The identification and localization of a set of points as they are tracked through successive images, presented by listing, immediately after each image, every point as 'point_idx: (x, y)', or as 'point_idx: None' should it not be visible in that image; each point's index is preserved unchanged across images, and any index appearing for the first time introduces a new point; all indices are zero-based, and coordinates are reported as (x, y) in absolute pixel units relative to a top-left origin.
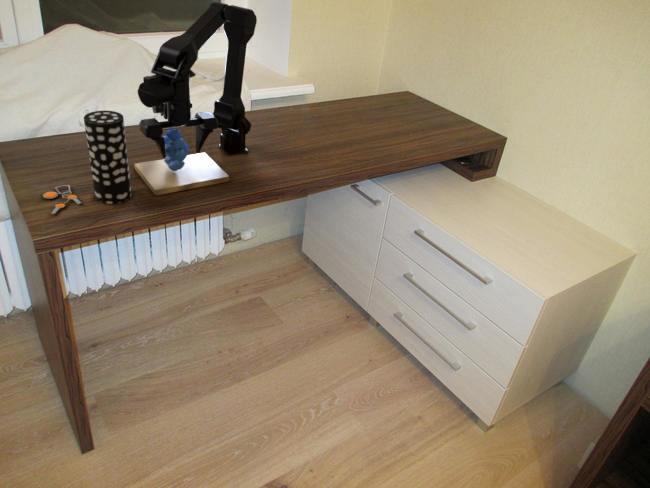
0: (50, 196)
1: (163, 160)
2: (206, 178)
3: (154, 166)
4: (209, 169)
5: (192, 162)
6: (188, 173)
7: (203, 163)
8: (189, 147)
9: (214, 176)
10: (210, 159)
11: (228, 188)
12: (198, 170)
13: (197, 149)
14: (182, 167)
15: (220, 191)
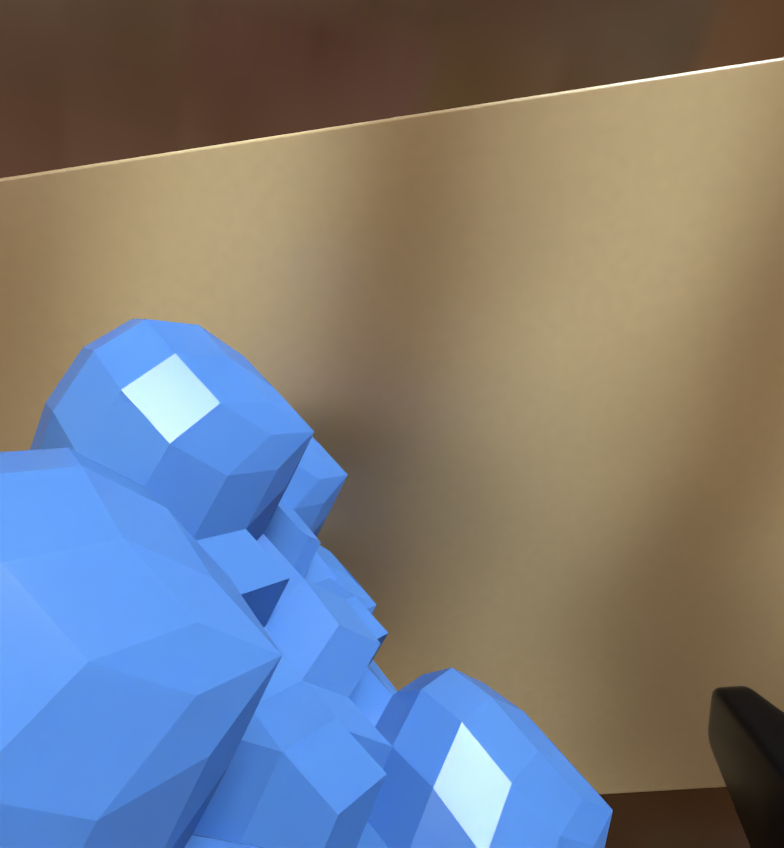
0: None
1: (196, 208)
2: (587, 767)
3: (58, 377)
4: (720, 616)
5: (604, 386)
6: (445, 641)
7: (737, 452)
8: (606, 836)
9: (685, 752)
10: None
11: (711, 814)
12: (583, 606)
13: (751, 825)
14: (420, 496)
15: (623, 833)
